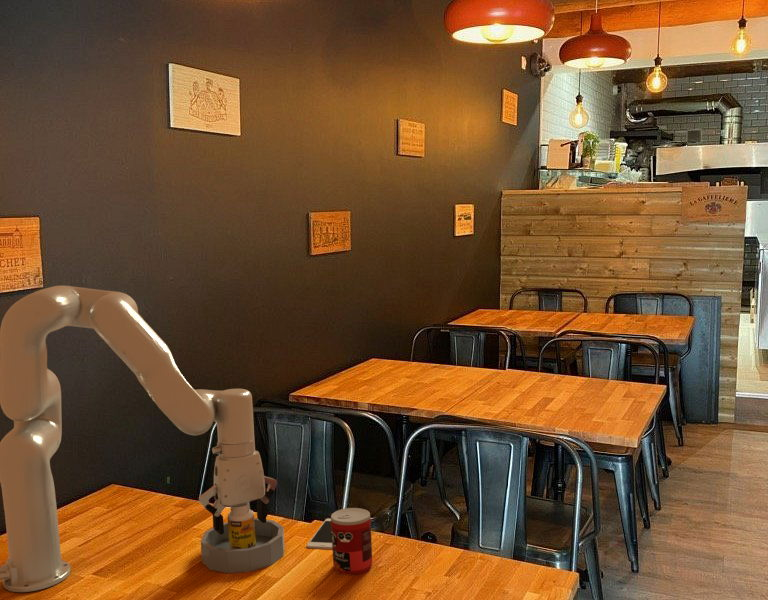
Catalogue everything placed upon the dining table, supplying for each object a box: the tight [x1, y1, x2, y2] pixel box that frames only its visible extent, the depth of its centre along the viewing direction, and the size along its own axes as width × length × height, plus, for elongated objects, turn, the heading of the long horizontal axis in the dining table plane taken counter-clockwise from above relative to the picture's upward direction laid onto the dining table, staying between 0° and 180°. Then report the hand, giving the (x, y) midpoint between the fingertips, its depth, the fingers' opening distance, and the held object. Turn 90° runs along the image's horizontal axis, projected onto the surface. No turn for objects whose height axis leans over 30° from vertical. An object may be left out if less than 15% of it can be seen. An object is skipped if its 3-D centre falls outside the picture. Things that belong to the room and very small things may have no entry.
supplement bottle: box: [227, 502, 256, 550], centre depth 161 cm, size 6×6×10 cm
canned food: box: [330, 507, 373, 576], centre depth 153 cm, size 8×8×11 cm
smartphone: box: [306, 518, 332, 550], centre depth 171 cm, size 7×15×1 cm, turn 168°
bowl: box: [200, 517, 286, 574], centre depth 162 cm, size 17×17×4 cm
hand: (241, 526), depth 161 cm, fingers open, 9 cm apart
